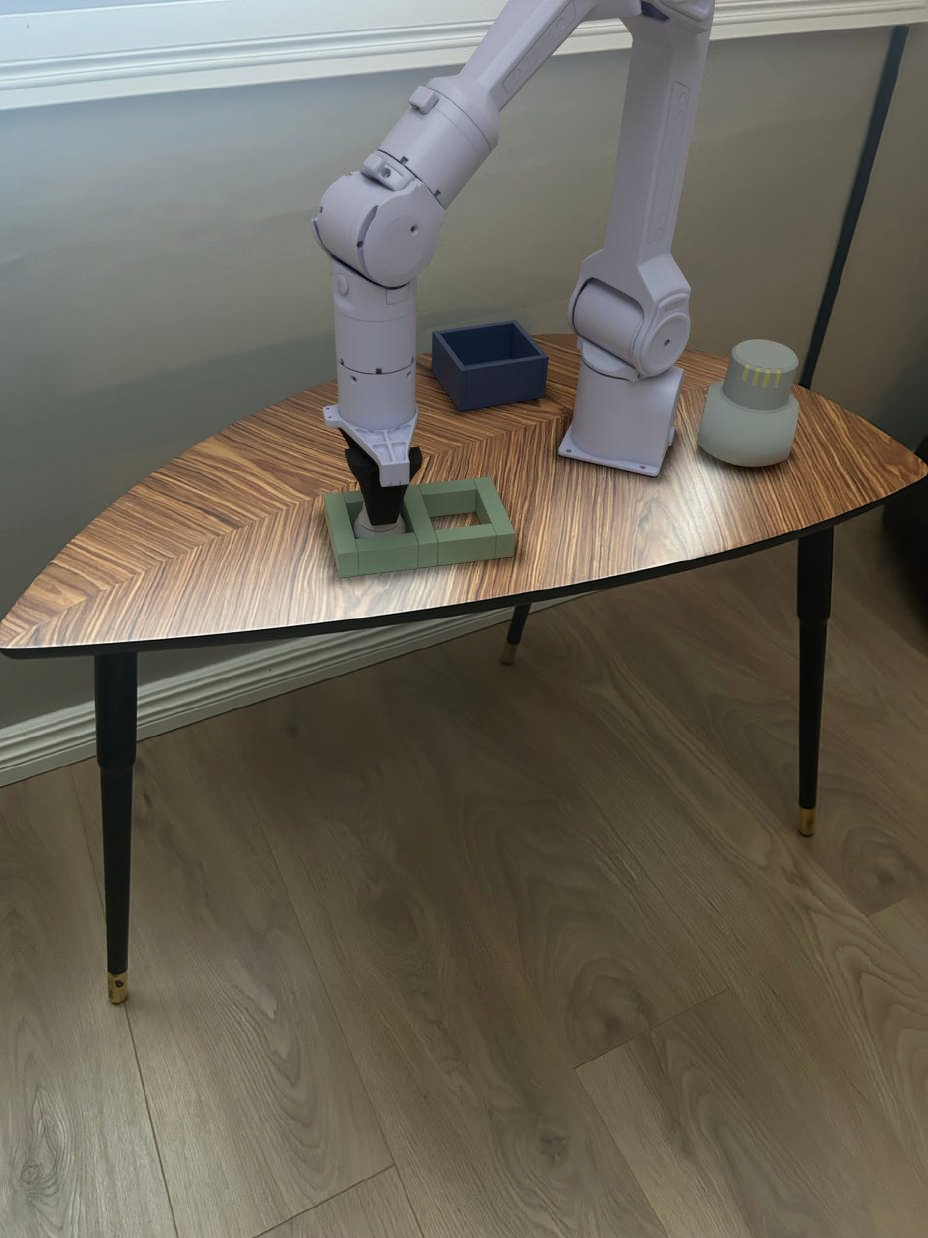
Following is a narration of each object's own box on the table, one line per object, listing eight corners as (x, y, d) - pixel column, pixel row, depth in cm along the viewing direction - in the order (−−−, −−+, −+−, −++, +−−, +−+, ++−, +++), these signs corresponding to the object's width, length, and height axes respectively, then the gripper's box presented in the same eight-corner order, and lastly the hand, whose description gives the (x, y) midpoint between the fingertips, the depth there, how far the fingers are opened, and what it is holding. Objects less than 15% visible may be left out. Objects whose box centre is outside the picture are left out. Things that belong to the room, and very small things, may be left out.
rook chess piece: (399, 562, 81) (399, 481, 76) (346, 553, 82) (342, 472, 76) (412, 529, 85) (413, 449, 79) (361, 521, 85) (358, 440, 80)
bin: (512, 358, 107) (516, 319, 104) (544, 397, 101) (549, 356, 98) (431, 371, 104) (432, 331, 101) (459, 411, 98) (461, 370, 95)
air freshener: (780, 489, 91) (811, 391, 84) (689, 471, 93) (712, 374, 86) (786, 427, 99) (815, 333, 92) (702, 412, 100) (724, 318, 94)
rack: (488, 499, 88) (490, 475, 86) (513, 556, 83) (515, 532, 81) (325, 517, 85) (323, 493, 84) (338, 578, 80) (337, 553, 78)
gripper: (307, 312, 76) (317, 462, 85) (335, 413, 66) (343, 571, 75) (399, 305, 77) (399, 454, 87) (440, 403, 67) (435, 560, 76)
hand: (379, 508), depth 81 cm, fingers closed on rook chess piece, 3 cm apart
